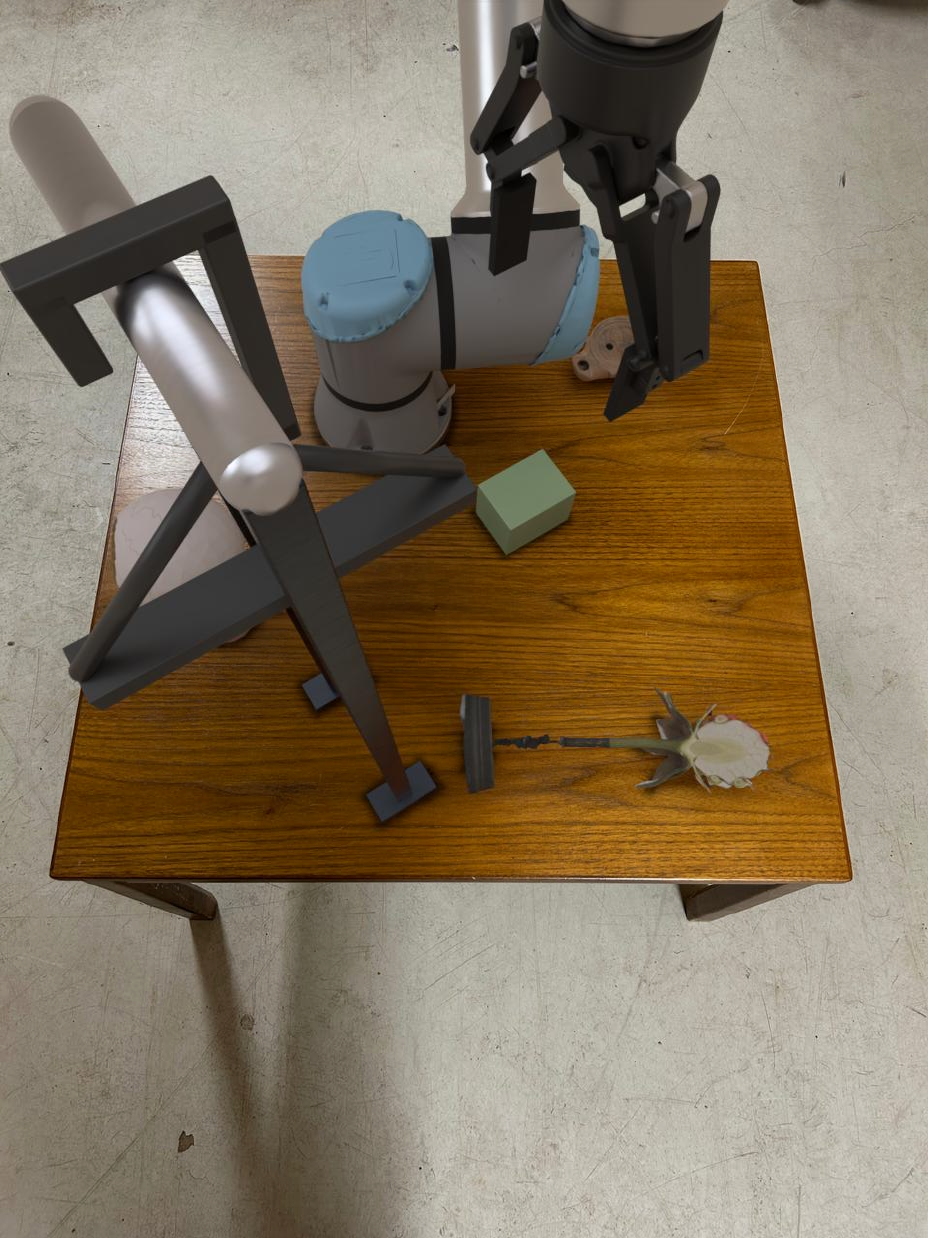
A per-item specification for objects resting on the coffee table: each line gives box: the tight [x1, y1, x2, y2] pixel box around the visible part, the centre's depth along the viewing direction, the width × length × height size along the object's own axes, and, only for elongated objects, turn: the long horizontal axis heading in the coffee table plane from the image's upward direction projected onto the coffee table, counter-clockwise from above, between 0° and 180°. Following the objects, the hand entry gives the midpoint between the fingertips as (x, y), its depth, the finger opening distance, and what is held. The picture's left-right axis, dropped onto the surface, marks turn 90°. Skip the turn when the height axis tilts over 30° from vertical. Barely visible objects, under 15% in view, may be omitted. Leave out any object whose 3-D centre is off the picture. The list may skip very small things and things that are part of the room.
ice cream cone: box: [110, 488, 251, 644], centre depth 70 cm, size 11×11×20 cm
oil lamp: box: [571, 315, 635, 382], centre depth 89 cm, size 13×8×5 cm, turn 118°
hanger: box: [0, 174, 478, 712], centre depth 28 cm, size 20×3×20 cm, turn 123°
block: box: [475, 448, 577, 556], centre depth 81 cm, size 6×8×6 cm
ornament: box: [459, 685, 775, 795], centre depth 71 cm, size 28×10×9 cm, turn 91°
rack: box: [8, 94, 438, 824], centre depth 47 cm, size 16×6×60 cm, turn 33°
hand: (563, 334), depth 52 cm, fingers open, 13 cm apart
